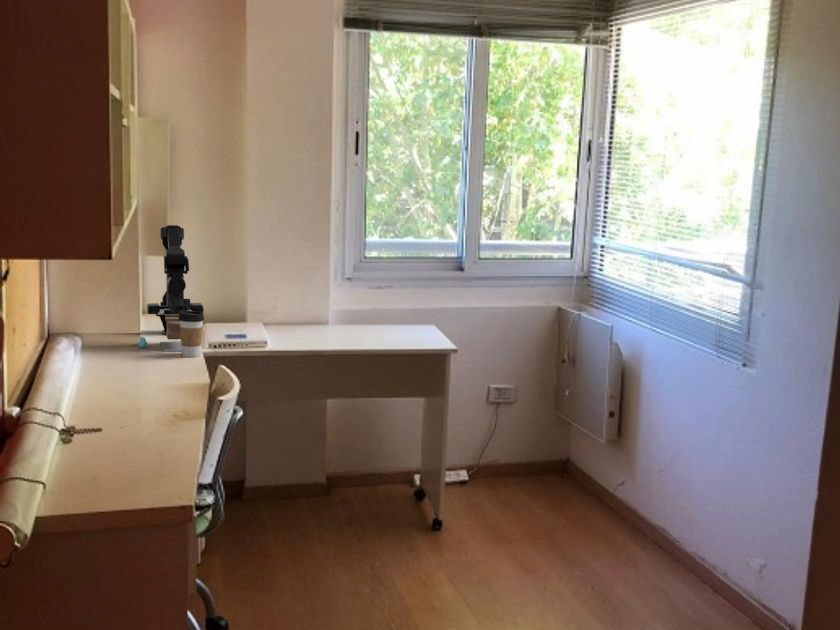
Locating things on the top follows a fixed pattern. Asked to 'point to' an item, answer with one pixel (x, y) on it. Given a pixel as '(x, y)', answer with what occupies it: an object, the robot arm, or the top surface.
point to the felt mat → (171, 346)
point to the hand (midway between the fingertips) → (175, 332)
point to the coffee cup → (191, 332)
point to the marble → (142, 343)
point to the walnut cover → (173, 327)
